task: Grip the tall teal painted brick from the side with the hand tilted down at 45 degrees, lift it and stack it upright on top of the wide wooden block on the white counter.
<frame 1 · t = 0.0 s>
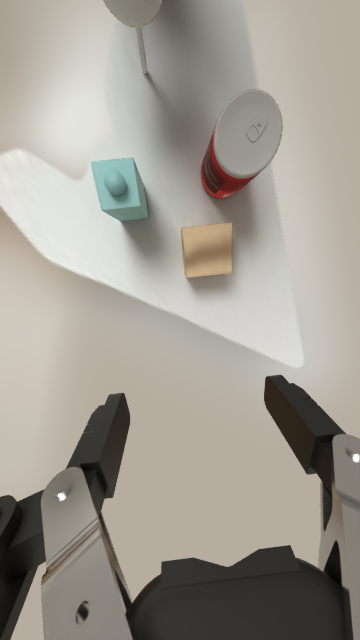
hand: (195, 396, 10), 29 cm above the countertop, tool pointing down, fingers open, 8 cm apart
wooden block: (203, 251, 36), on the countertop
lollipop: (145, 72, 27), on the countertop
canned food: (222, 173, 31), on the countertop
teal brick: (132, 203, 32), on the countertop
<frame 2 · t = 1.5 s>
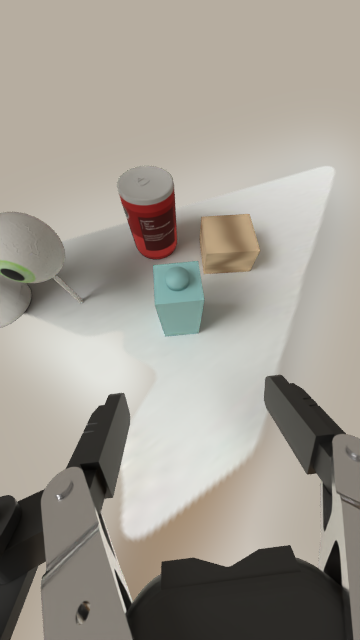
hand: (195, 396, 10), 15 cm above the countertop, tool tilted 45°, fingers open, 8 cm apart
wooden block: (223, 255, 34), on the countertop
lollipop: (81, 302, 31), on the countertop
canned food: (156, 245, 35), on the countertop
teal brick: (180, 319, 29), on the countertop
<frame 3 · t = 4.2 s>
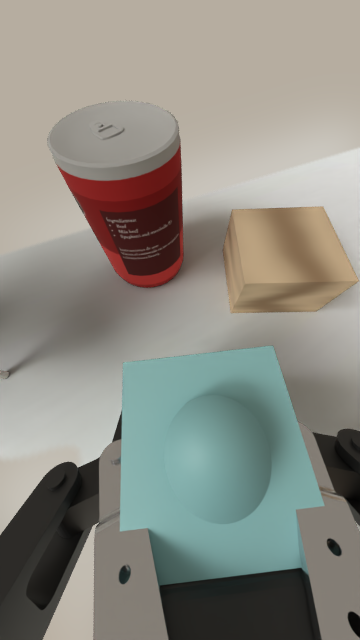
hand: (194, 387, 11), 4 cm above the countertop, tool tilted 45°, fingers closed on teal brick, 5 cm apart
wooden block: (264, 279, 19), on the countertop
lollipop: (7, 375, 16), on the countertop
canned food: (149, 262, 21), on the countertop
teal brick: (196, 416, 14), on the countertop, touching gripper
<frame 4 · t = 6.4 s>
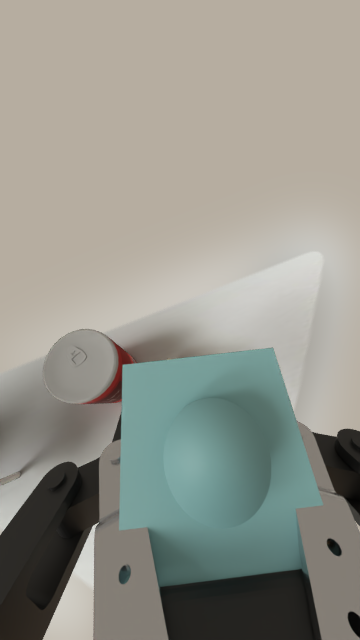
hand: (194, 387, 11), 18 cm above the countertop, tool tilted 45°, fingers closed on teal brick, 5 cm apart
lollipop: (19, 474, 25), on the countertop
canned food: (116, 376, 30), on the countertop
teal brick: (196, 417, 14), point 14 cm above the countertop, touching gripper
when the fingers open (10 cm above the countertop, at t = 8.5 s): teal brick drops 1 cm, point 5 cm above the countertop.
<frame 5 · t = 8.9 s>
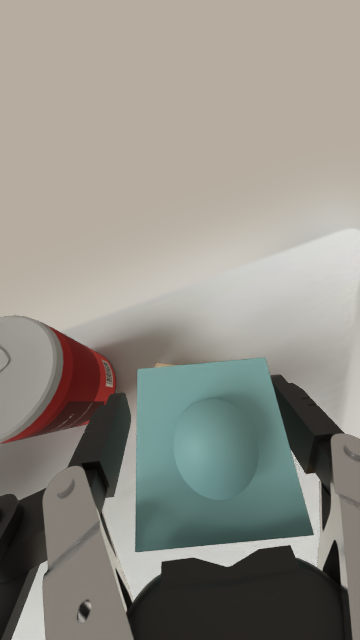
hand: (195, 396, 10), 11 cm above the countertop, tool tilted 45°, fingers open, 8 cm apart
canned food: (85, 386, 21), on the countertop
teal brick: (196, 417, 15), point 5 cm above the countertop
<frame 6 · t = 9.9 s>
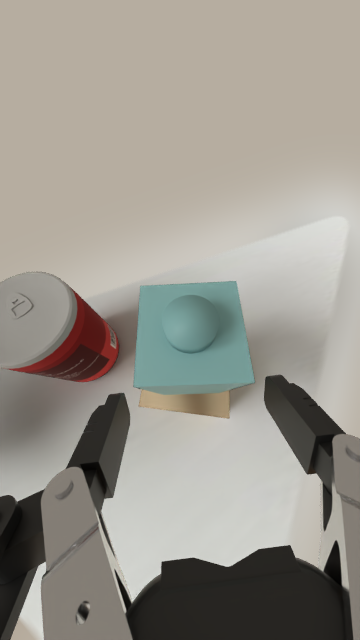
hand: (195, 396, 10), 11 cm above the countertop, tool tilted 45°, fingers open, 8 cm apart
wooden block: (187, 373, 22), on the countertop
canned food: (91, 351, 24), on the countertop
teal brick: (189, 366, 18), point 5 cm above the countertop
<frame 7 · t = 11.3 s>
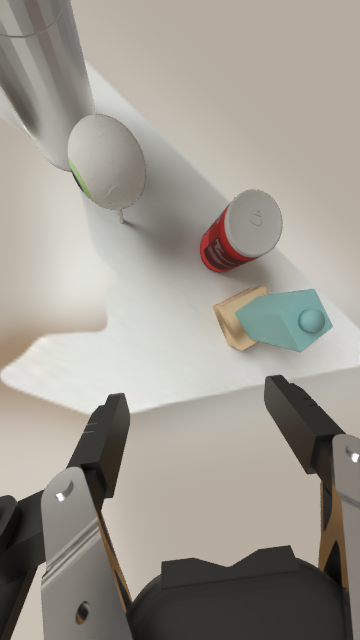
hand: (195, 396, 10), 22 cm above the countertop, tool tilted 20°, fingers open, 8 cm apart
wooden block: (238, 316, 35), on the countertop, touching teal brick
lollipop: (121, 221, 30), on the countertop
canned food: (218, 251, 33), on the countertop
teal brick: (253, 317, 30), point 5 cm above the countertop, touching wooden block
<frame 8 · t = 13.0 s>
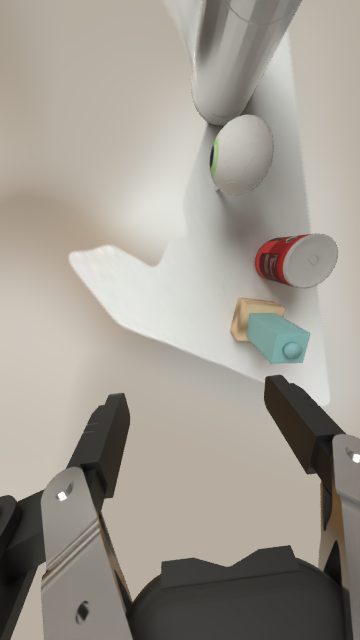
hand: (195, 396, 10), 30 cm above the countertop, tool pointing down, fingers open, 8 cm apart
wooden block: (250, 316, 42), on the countertop, touching teal brick
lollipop: (216, 189, 33), on the countertop
canned food: (272, 259, 38), on the countertop
teal brick: (260, 324, 37), point 5 cm above the countertop, touching wooden block
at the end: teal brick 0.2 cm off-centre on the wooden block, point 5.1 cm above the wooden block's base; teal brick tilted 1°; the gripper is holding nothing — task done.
